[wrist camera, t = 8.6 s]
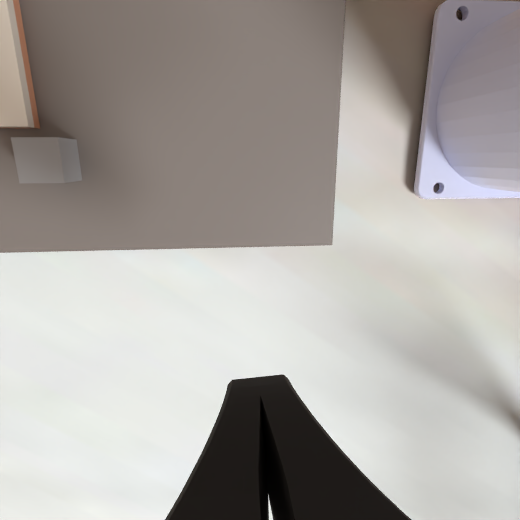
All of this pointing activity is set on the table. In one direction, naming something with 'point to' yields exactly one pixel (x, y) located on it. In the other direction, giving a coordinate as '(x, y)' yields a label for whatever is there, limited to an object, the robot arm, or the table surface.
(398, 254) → the table surface
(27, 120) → the tile
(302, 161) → the board
